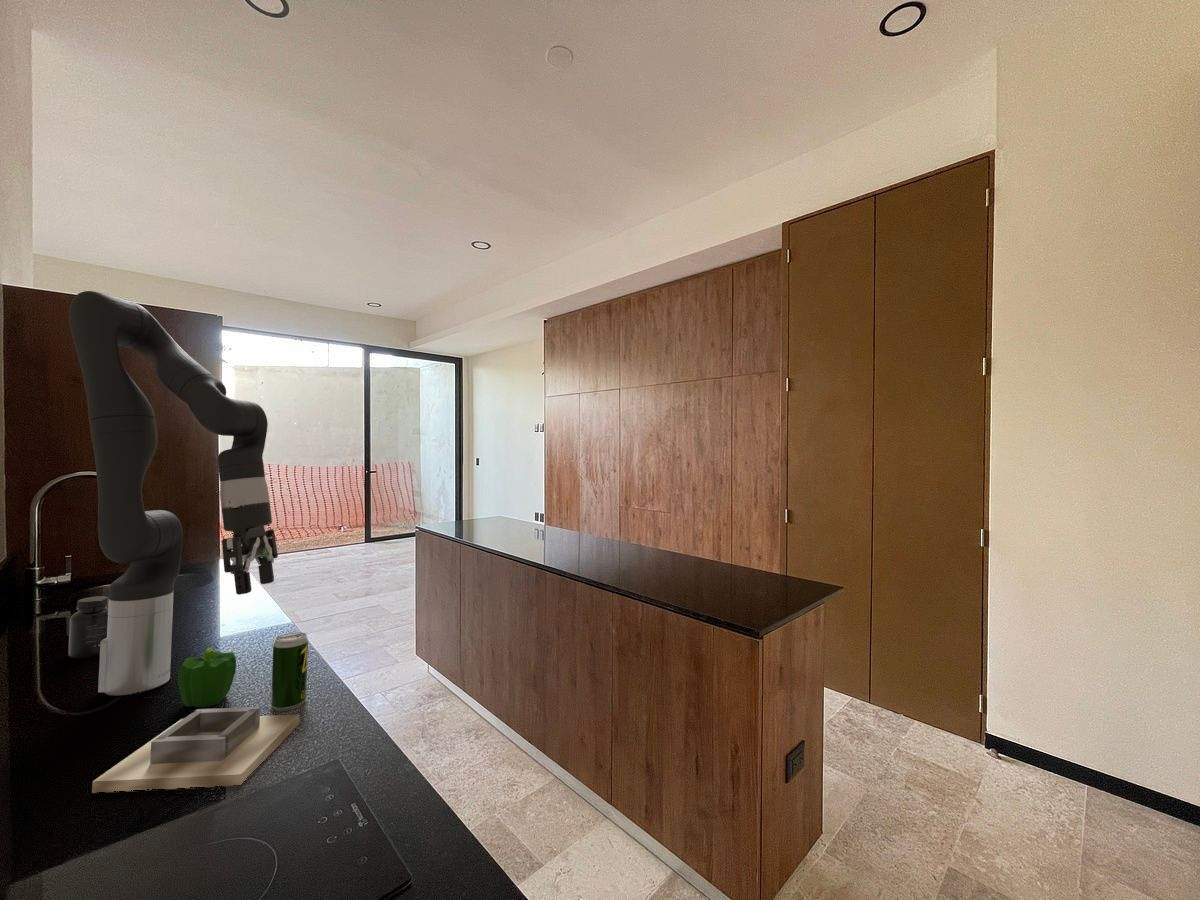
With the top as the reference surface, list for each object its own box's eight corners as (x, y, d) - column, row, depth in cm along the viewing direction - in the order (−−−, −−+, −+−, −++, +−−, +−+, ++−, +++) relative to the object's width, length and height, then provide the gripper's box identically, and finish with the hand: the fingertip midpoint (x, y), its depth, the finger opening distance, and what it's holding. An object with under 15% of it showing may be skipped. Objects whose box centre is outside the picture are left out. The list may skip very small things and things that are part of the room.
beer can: (270, 715, 85) (273, 644, 86) (270, 702, 90) (273, 635, 90) (307, 707, 88) (309, 638, 89) (305, 695, 93) (307, 629, 93)
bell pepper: (185, 696, 91) (187, 641, 92) (239, 688, 95) (241, 635, 95) (167, 717, 84) (169, 657, 84) (226, 709, 87) (228, 651, 87)
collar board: (92, 793, 65) (93, 757, 65) (181, 728, 81) (182, 699, 81) (240, 785, 67) (241, 751, 67) (299, 723, 83) (300, 696, 83)
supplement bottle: (61, 655, 109) (64, 600, 109) (102, 645, 115) (104, 593, 116) (78, 661, 106) (80, 604, 107) (118, 650, 113) (121, 596, 113)
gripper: (244, 504, 101) (254, 583, 101) (200, 508, 87) (211, 601, 86) (284, 498, 102) (294, 577, 102) (247, 502, 88) (258, 593, 88)
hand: (256, 588), depth 94 cm, fingers open, 8 cm apart
